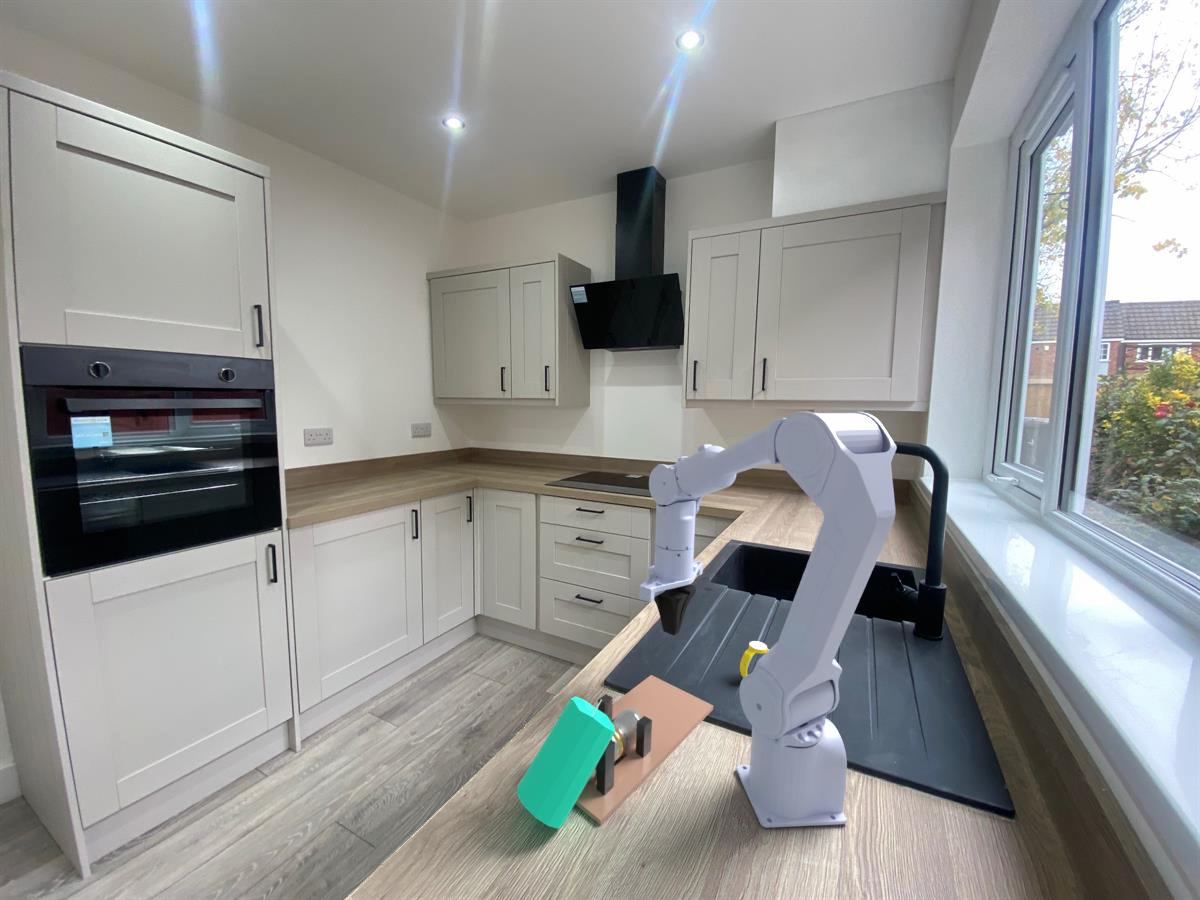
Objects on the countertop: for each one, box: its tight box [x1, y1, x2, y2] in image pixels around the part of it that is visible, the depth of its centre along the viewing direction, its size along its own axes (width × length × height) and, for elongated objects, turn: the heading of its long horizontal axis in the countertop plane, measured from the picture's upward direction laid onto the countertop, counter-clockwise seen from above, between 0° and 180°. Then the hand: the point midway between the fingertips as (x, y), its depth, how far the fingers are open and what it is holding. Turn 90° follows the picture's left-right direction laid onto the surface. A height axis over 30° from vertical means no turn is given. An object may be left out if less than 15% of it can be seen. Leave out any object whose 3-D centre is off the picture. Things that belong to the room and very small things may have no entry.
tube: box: [587, 709, 642, 782], centre depth 57 cm, size 12×4×4 cm, turn 142°
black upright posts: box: [557, 693, 652, 796], centre depth 57 cm, size 9×8×6 cm
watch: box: [739, 640, 770, 678], centre depth 75 cm, size 6×3×6 cm, turn 117°
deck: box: [574, 674, 714, 826], centre depth 62 cm, size 25×11×1 cm, turn 139°
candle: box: [516, 696, 615, 830], centre depth 51 cm, size 6×6×12 cm
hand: (670, 631), depth 70 cm, fingers closed
